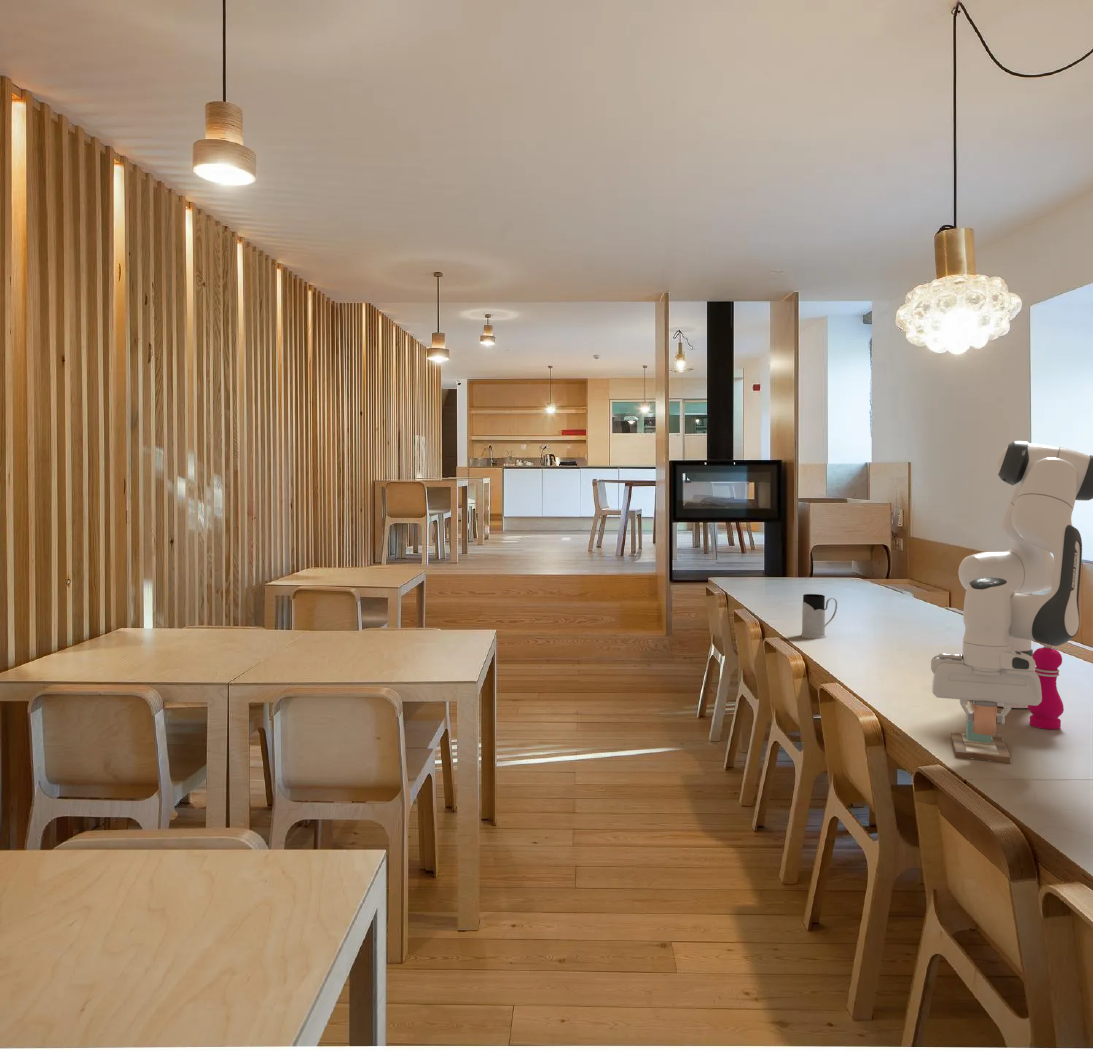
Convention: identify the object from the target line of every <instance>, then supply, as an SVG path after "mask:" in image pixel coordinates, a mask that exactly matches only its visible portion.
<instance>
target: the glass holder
mask: <svg viewBox="0 0 1093 1051" xmlns="http://www.w3.org/2000/svg"><path fill="white" fill-rule="evenodd" d="M825 598H826V596H825V595H824V594H820V593H819V594H816V593H806V594H803V596H802V614H801V616H802V618H801V619H802V620H801V622H802V624H801V627H802V628H801V634H800V637H801V638H805V639H813V640H820V639H825V638H827V636H826V634H825V633H826V630H825V629H826V627H827V626H828V625H829V624H830V623H831V621H832V620H833V619H834V618H835V616H836V613H837V609H838V601H837V599H836V598H834V597H830V598H828V599H827V600H826V599H825ZM830 600H833V601H834V603H835V606H834V612H833V615H832V616H831V618H830V619H829V620H828V621H827V622H826V611H827V609H828V605H829V601H830ZM825 601H826V603H825Z"/></svg>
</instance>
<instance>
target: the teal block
mask: <svg viewBox="0 0 1093 1051" xmlns="http://www.w3.org/2000/svg"><path fill="white" fill-rule="evenodd" d="M965 734H966V737H967V740H968V741H978V742H988V743H991V736H992V735H981V734H977V733H974V732H973V721H965Z"/></svg>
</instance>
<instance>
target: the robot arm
mask: <svg viewBox="0 0 1093 1051" xmlns="http://www.w3.org/2000/svg"><path fill="white" fill-rule="evenodd" d="M997 460H998V461H997V471H998V473H997V475H998V477H999V478H1000V480H1001V481H1003V482H1004V483H1006V484H1009V485H1011V486H1015V487H1014V489H1013V492H1012V493H1011V495H1010V499H1009V502H1008V504H1007V507H1006V508H1005V512H1004V515H1003V518H1002V520H1001V523H1000V526H1001V530H1002V533H1003V534H1004V536H1005V537H1006V538H1007V539H1009V540H1010V541H1011V544H1010V547H1009V549H1008V550H1006V551H983V552H979V553H973V554H971V555H968V556H965V557H964V558H963V559H962V561H961V562H960V564H959V567H958V571H957V572H958V573H957V574H958V578H959V582H960V584H961V586H962V587H963V588H964V590H966V591H965V595H964V601H963V618H962V620H963V621H962V622H963V625H964V634H963V637H962V654H953V653H952V654H951V653H950V654H947V653H939V654H938V655H935V656H934V657H932V658H931V660H930V670H931V672H932V673H933V677H932V682H931V684H932V685H931V686H932V687H931V693H932V694H933V695H934V696H935V697H936V698H939V699H940V698H941V699H951V700H959V704H960V706H961V708H962V710H963V711H964V721H965V722H966V721H973V717H974V713H973V710H968V708H967V706H968V704H969V701H972V702H973V701H985V702H997V707H1001V708H1003V709H1002V710H1001V712H1000V713H997V724H998V725H1005V723H1006V717H1007V715H1008V714H1009V713H1010V711H1011V710H1012V709H1028V705H1034V706H1037V705H1039V704H1040V703H1041V701H1042V692H1041V684H1040V679H1039V676H1038V675H1037V673H1036V672H1035V667H1036V664H1035V660H1034V659H1033V658H1032V656H1033V653H1034V650H1033V649H1032V641H1033V642H1037V643H1040V644H1043V643H1044V644H1048V645H1052V647H1059V646H1063V645H1064V644H1066V643H1068V642H1069V641H1071V640H1072V639H1074V637H1075V636H1077V634H1078V632H1079V627H1080V608H1079V607H1080V606H1079V605H1080V603H1079V600H1080V599H1079V597H1080V585H1081V574H1082V560H1083V559H1082V558H1083V543H1082V542H1083V541H1082V536H1081V533H1080V531H1079V529H1078V528H1076V527H1075V526H1073V523H1072V515H1073V511H1074V508H1075V503H1076V501H1091V500H1092V499H1093V455H1092V454H1090V455H1088V454H1085V453H1082V452H1079V451H1077V450H1073V449H1069V448H1065V447H1061V446H1059V447H1057V446H1054V445H1053V446H1052V445H1046V444H1040V443H1031V442H1030V443H1029V441H1025V440H1024V441H1023V440H1015V441H1012V442H1010V443H1008V444H1007V446H1006V447H1005V448H1004V449H1003V450H1002V452H1001V453H1000V455H999V456H998V459H997ZM1048 590H1050V591H1049V592H1048V593H1046V594H1036V593H1041V592H1044V591H1048Z"/></svg>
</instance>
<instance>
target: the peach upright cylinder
mask: <svg viewBox="0 0 1093 1051" xmlns="http://www.w3.org/2000/svg"><path fill="white" fill-rule="evenodd" d="M972 711H973V713H974V717H973V732H974V733H977V734H981V735H991V736H995V735H997V729H998V728H997V727H998V725H997V714H998V706H997V702H985V701H973V700H972Z"/></svg>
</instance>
